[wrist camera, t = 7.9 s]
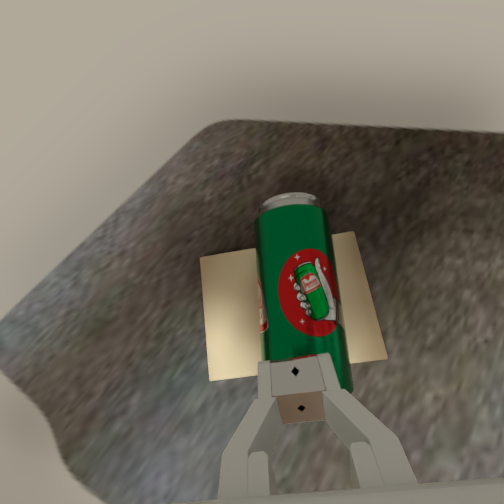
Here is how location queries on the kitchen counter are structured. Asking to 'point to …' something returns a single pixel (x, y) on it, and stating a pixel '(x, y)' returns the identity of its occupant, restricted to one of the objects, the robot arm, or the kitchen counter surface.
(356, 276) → the cork mat
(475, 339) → the kitchen counter surface
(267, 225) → the soda can
